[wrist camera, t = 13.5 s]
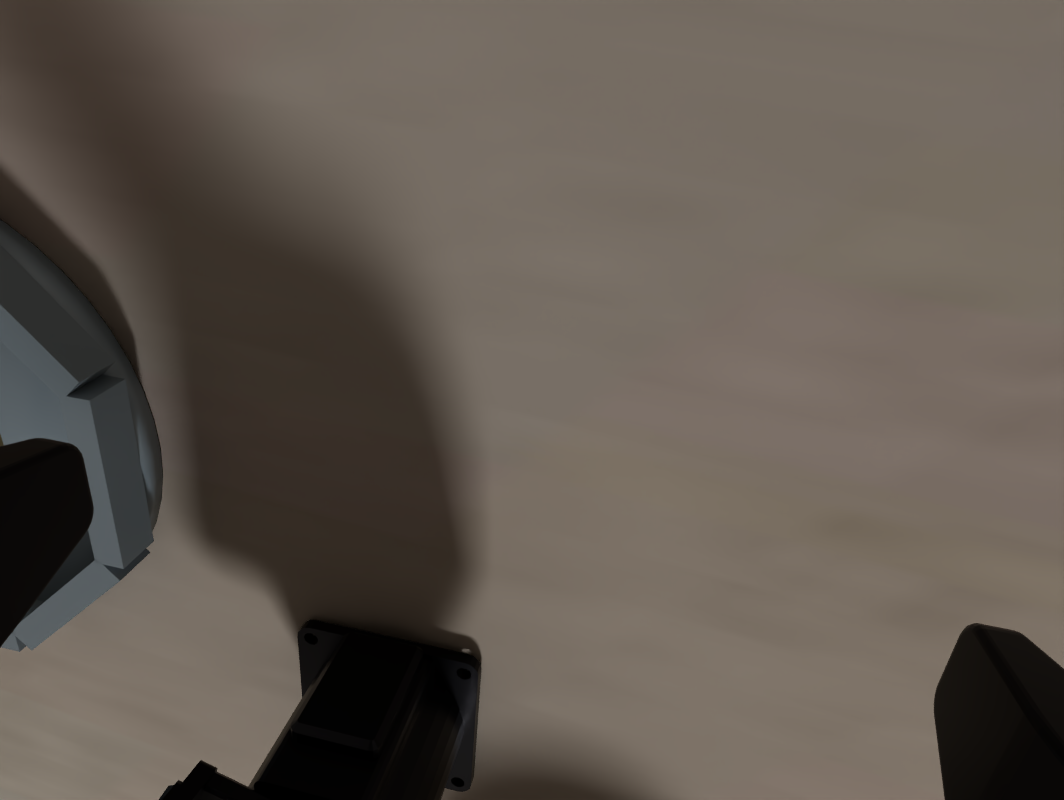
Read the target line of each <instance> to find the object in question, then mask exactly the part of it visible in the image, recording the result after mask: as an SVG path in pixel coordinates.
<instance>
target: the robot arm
mask: <svg viewBox="0 0 1064 800" xmlns="http://www.w3.org/2000/svg"><path fill="white" fill-rule="evenodd" d="M93 513H94V506H93V501H92V496H91V491H90V486H89V482H88V477H87V472H86V468H85V463H84V458H83V455H82V453H81V452H80V450H79V449H78V448H77V447H76V446H74V445H73V444H70V443H66V442H61V441H56V440H51V439H46V438H33V439H28V440H24V441H20V442H16V443H12V444H8V445H4V446H0V647H1V646H2V645H3V644H4V642H5V641H6V640H7V638H8V637H9V636H10V635H11V633H12V632H13V631H14V629H15V628H16V627H17V625H18V624H19V623H20V621H21V620H22V619H23V617H24V616H25V615H26V613H27V612H28V611H29V609H30V608H31V607H32V605H33V604H34V602H35V601H36V600H37V598H38V597H39V596H40V594H41V593H42V592H43V590H44V589H45V588H46V586H47V585H48V584H49V582H50V581H51V579H52V578H53V577H54V575H55V574H56V573H57V571H58V570H59V569H60V567H61V566H62V565H63V563H64V562H65V561H66V559H67V558H68V556H69V555H70V554H71V552H72V551H73V550H74V548H75V547H76V546H77V544H78V543H79V542H80V540H81V539H82V537H83V536H84V535H85V533H86V532H87V530H88V529H89V527H90V524H91V522H92V519H93ZM313 634H314V635H313ZM298 647H299V660H300V673H301V686H302V699H301V701H300V703H299V704H298V706H297V707H296V709H295V711H294V712H293V714H292V716H291V717H290V719H289V721H288V722H287V724H286V726H285V727H284V729H283V730H282V732H281V734H280V735H279V737H278V739H277V740H276V742H275V744H274V745H273V747H272V749H271V750H270V752H269V753H268V755H267V757H266V758H265V760H264V762H263V763H262V765H261V767H260V768H259V770H258V772H257V773H256V775H255V776H254V778H253V780H252V781H251V783H250V785H249V786H248V787H247V786H245V785H243V784H241V783H239V782H237V781H235V780H233V779H231V778H229V777H227V776H225V775H223V774H220V773H218V772H217V768H216V767H214V766H212V765H210V764H208V763H206V762H204V761H202V760H201V761H200V762H199V763H198V764H197V765H196V767H195V768H194V769H193V770H192V771H191V773H190V774H189V775H188V776H187V778H186V779H185V780H184V781H183V782H181V781H179V780H178V781H177V782H176V784H175V785H171V786H168V787H167V789H166V790H165V792H164V793H163V794H162V796H161V797H160V799H159V800H441V798H442V795H443V792H444V789H445V788H447V789H451V790H455V791H461V792H463V791H467V790H468V789H470V786H471V783H472V780H473V777H474V766H475V752H476V738H477V724H478V710H479V695H480V681H481V664H480V662H479V661H478V660H477V659H476V658H475V657H474V656H471V655H469V654H465V653H460V652H456V651H451V650H447V649H442V648H438V647H433V646H429V645H424V644H420V643H416V642H411V641H407V640H402V639H398V638H393V637H389V636H384V635H380V634H375V633H371V632H366V631H362V630H358V629H353V628H349V627H344V626H340V625H335V624H331V623H326V622H322V621H317V620H308V621H306V622H305V623H304V624H303V626H302V627H301V629H300V630H299V632H298ZM463 668H465V669H467V670H469V671H467V670H464V669H463ZM934 717H935V725H936V733H937V741H938V749H939V757H940V765H941V773H942V781H943V789H944V797H945V800H1064V669H1063V668H1062V667H1061V666H1060V665H1059V664H1057V663H1056V662H1055V661H1054V660H1053V659H1052V658H1050V657H1049V656H1048V655H1047V654H1046V653H1044V652H1043V651H1042V650H1041V649H1040V648H1039V647H1037V646H1036V645H1035V644H1034V643H1033V642H1031V641H1030V640H1029V639H1028V638H1027V637H1025V636H1024V635H1023V634H1021V633H1019V632H1017V631H1014V630H1009V629H1004V628H999V627H994V626H989V625H984V624H979V623H974V624H971V625H968V626H967V627H966V628H965V629H964V630H963V631H962V633H961V634H960V636H959V638H958V640H957V643H956V645H955V647H954V649H953V652H952V654H951V656H950V658H949V661H948V663H947V665H946V667H945V670H944V672H943V674H942V676H941V679H940V681H939V683H938V686H937V688H936V693H935V698H934Z"/></svg>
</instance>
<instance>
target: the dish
mask: <svg viewBox="0 0 1064 800" xmlns="http://www.w3.org/2000/svg"><path fill="white" fill-rule="evenodd" d="M0 435H1V438H2V441H3V444H4V445H8V444H12V443H16V442H20V441H24V440H28V439H33V438H46V439H51V440H56V441H61V442H66V443H70V444H73V445H74V446H76V447H77V448H78V449H79V450H80V452H81V453H82V455H83V458H84V463H85V468H86V472H87V477H88V482H89V486H90V491H91V496H92V501H93V506H94V513H93V519H92V522H91V524H90V527H89V529H88V530H87V532H86V533H85V535H84V536H83V537H82V539H81V540H80V542H79V543H78V544H77V546H76V547H75V548H74V550H73V551H72V552H71V554H70V555H69V556H68V558H67V559H66V561H65V562H64V563H63V565H62V566H61V567H60V569H59V570H58V571H57V573H56V574H55V575H54V577H53V578H52V579H51V581H50V582H49V584H48V585H47V586H46V588H45V589H44V590H43V592H42V593H41V594H40V596H39V597H38V598H37V600H36V601H35V602H34V604H33V605H32V607H31V608H30V609H29V611H28V612H27V613H26V615H25V616H24V617H23V619H22V620H21V621H20V623H19V624H18V625H17V627H16V628H15V629H14V631H13V632H12V633H11V635H10V636H9V637H8V638H7V640H6V641H5V642H4V644H3V645H2V646H1V647H2V648H6V649H11V650H15V651H19V652H20V651H21V650H22V649H23V648H24V647H26V646H27V647H28V648H29V649H31V650H33V649H34V648H35V647H37V646H38V645H39V644H40V643H42V642H43V641H44V640H45V639H47V638H48V637H49V636H51V635H52V634H53V633H54V632H56V631H57V630H58V629H59V628H61V627H62V626H63V625H65V624H66V623H67V622H68V621H70V620H71V619H72V618H73V617H75V616H76V615H77V614H79V613H80V612H81V611H82V610H84V609H85V608H86V607H87V606H89V605H90V604H91V603H92V602H94V601H95V600H96V599H98V598H99V597H100V596H101V595H103V594H104V593H105V592H106V591H108V590H109V589H110V588H112V587H113V586H114V585H115V584H117V583H118V582H119V581H120V580H121V579H122V578H124V577H125V576H126V575H127V574H128V573H129V572H130V571H131V570H132V569H133V568H134V567H135V566H136V565H137V564H138V563H139V562H140V561H142V560H143V559H144V558H145V557H146V556H147V555H148V554H149V553H150V552H149V551H148V550H147V549H146V548H147V547H148V546H149V545H150V544H151V543H152V542H153V541H154V539H153V534H152V531H153V529H154V527H155V524H156V522H157V518H158V513H159V509H160V504H161V499H162V480H163V473H162V462H161V451H160V445H159V441H158V436H157V432H156V428H155V423H154V419H153V417H152V414H151V411H150V408H149V405H148V402H147V400H146V397H145V394H144V391H143V389H142V387H141V385H140V383H139V381H138V379H137V376H136V374H135V372H134V370H133V368H132V366H131V364H130V362H129V360H128V358H127V357H126V355H125V353H124V352H123V350H122V348H121V347H120V345H119V343H118V342H117V340H116V338H115V337H114V335H113V333H112V332H111V330H110V329H109V327H108V326H107V325H106V323H105V322H104V321H103V319H102V318H101V317H100V315H99V314H98V313H97V311H96V310H95V309H94V307H93V306H92V305H91V303H90V302H89V301H88V299H87V298H86V297H85V296H84V295H83V294H82V293H81V292H80V290H79V289H78V288H77V287H76V286H75V285H74V284H73V283H72V281H71V280H70V279H69V278H68V277H67V276H66V275H65V274H64V273H63V272H62V271H61V270H60V269H59V268H58V267H57V266H56V265H55V264H54V263H53V262H52V261H51V260H50V259H49V258H47V257H46V256H45V255H44V254H43V253H42V252H41V251H40V250H39V249H38V248H37V247H36V246H35V245H33V244H32V243H31V242H29V241H28V240H27V239H26V238H24V237H23V236H22V235H20V234H19V233H18V232H16V231H15V230H14V229H13V228H11V227H10V226H9V225H7V224H6V223H5V222H3V221H2V220H0Z"/></svg>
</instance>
